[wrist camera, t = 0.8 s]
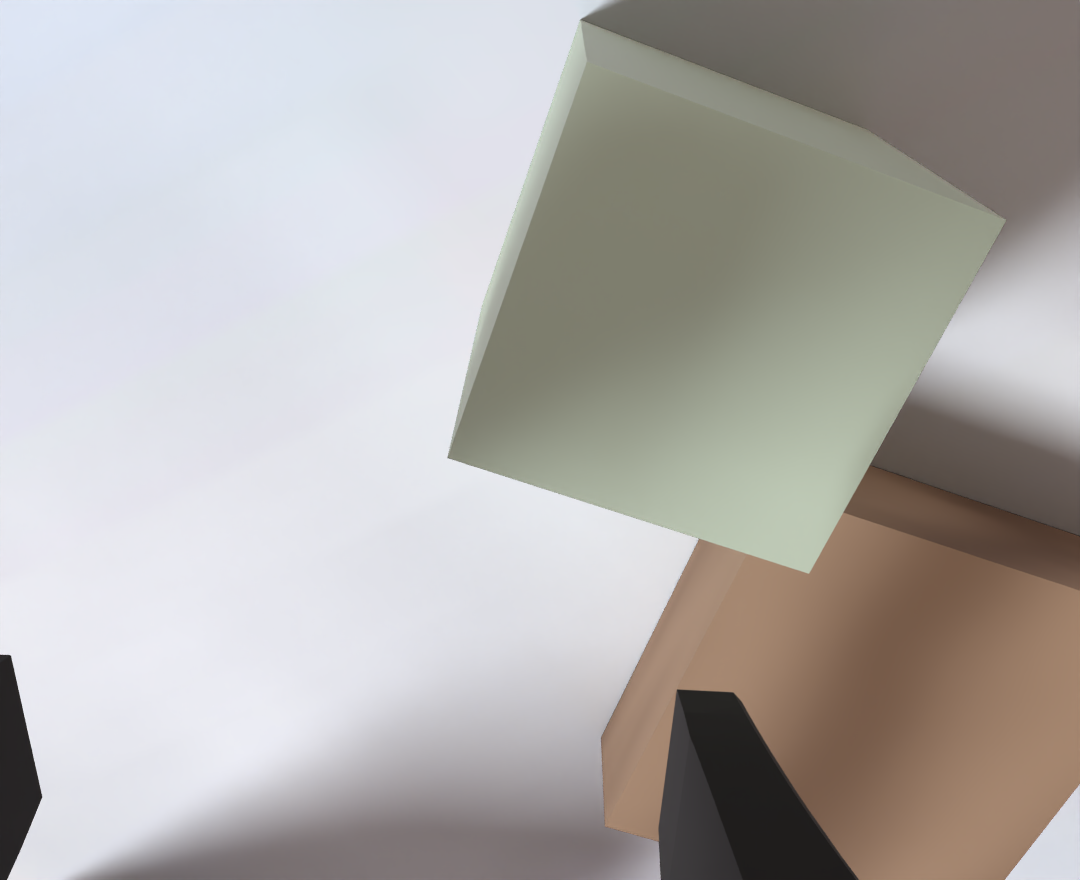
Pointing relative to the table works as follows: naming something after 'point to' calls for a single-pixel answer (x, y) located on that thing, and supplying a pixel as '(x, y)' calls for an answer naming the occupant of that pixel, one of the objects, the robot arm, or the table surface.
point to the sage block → (709, 303)
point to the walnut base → (882, 681)
